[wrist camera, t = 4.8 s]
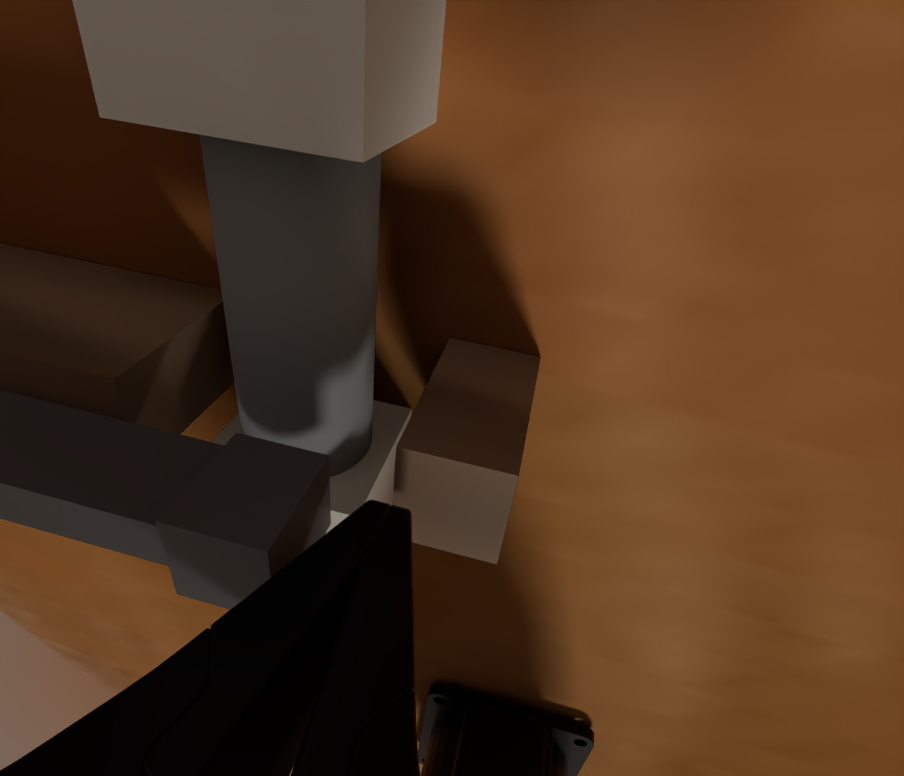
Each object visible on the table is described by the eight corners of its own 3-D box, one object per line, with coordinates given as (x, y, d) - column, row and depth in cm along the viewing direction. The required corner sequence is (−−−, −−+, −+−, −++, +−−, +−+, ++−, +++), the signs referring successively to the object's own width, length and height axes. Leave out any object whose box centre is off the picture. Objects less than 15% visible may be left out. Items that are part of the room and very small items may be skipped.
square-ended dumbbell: (403, 511, 17) (355, 626, 14) (283, 480, 17) (209, 585, 14) (460, -164, 8) (370, -288, 5) (220, -186, 9) (-1, -312, 6)
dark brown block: (522, 435, 14) (496, 564, 11) (-178, 274, 17) (-376, 336, 13) (540, 356, 13) (518, 475, 9) (-223, 196, 16) (-457, 242, 12)
